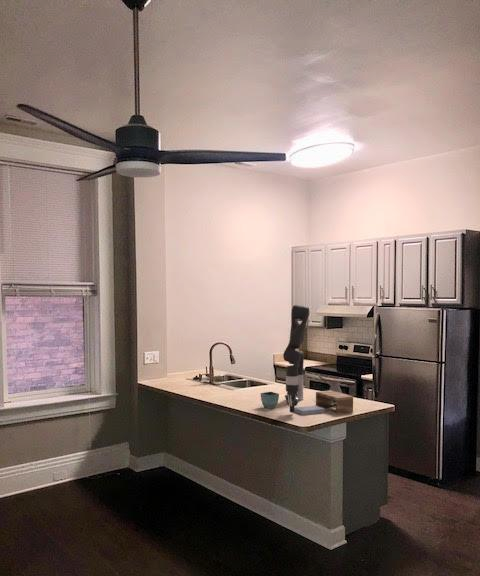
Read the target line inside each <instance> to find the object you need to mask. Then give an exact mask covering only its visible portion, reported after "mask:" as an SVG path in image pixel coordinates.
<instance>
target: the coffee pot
mask: <svg viewBox="0 0 480 576" xmlns="http://www.w3.org/2000/svg"><path fill="white" fill-rule="evenodd" d="M317 379H320V380H322V381H323V382H324V383H326V384H328V385H329V386H330V387H329V389H328V391H329V390H331V391H335V392H339V393H343V392H342V390H341V387H340V383H341V381H337V380H336V381H335V380H332V381H330V382H328V381H327V380H326V379H325V378H323V377H322V376H320V375H319V376H318V377H317ZM332 403H336V400H334V399H332Z"/></svg>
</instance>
